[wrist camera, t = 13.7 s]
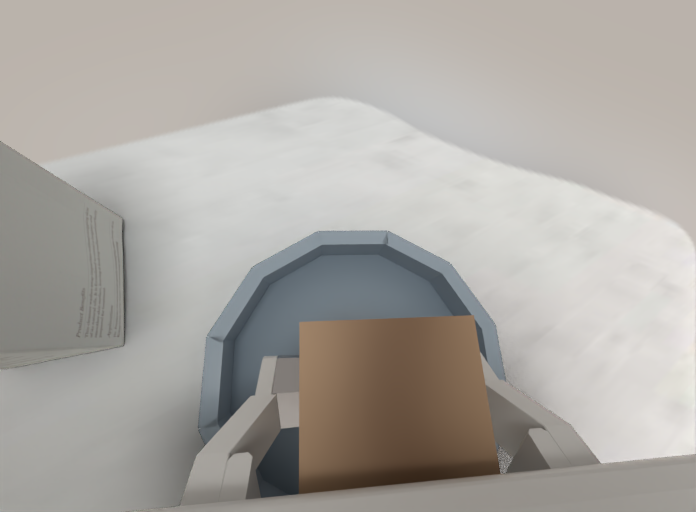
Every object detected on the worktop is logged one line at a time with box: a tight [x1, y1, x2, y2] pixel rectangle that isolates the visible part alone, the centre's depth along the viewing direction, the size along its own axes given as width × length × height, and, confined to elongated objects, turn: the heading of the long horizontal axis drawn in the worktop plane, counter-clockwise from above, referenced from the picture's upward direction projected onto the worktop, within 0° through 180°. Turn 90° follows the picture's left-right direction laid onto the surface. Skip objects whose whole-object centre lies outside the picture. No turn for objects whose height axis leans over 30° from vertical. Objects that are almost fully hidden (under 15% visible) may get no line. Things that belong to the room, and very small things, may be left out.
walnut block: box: [299, 315, 500, 494], centre depth 11 cm, size 5×4×8 cm
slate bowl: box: [198, 231, 506, 498], centre depth 16 cm, size 15×15×3 cm
